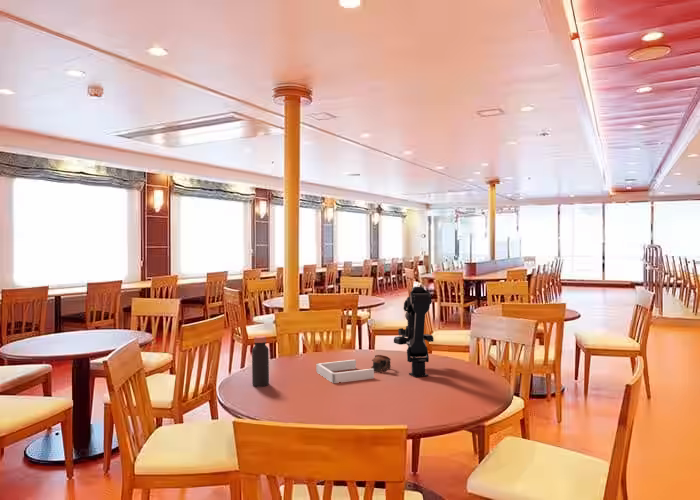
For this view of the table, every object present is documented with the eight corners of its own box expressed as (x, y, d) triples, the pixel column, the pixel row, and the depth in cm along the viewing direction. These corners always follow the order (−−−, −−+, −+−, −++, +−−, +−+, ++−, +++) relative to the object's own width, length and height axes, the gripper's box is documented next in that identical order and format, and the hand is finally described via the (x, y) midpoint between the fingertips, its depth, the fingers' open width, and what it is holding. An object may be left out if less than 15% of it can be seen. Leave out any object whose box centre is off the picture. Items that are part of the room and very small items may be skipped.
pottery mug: (365, 371, 230) (369, 354, 234) (381, 378, 234) (385, 361, 238) (380, 369, 221) (384, 352, 224) (396, 377, 224) (400, 359, 228)
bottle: (265, 387, 204) (264, 338, 203) (249, 386, 205) (249, 337, 205) (271, 382, 210) (270, 335, 210) (256, 382, 212) (255, 335, 211)
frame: (374, 378, 216) (373, 369, 216) (332, 383, 208) (332, 373, 208) (354, 368, 235) (354, 359, 235) (316, 372, 227) (316, 363, 227)
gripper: (421, 320, 246) (421, 352, 247) (388, 323, 239) (388, 356, 239) (434, 323, 236) (434, 356, 236) (399, 326, 229) (399, 360, 229)
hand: (413, 357), depth 235 cm, fingers closed
